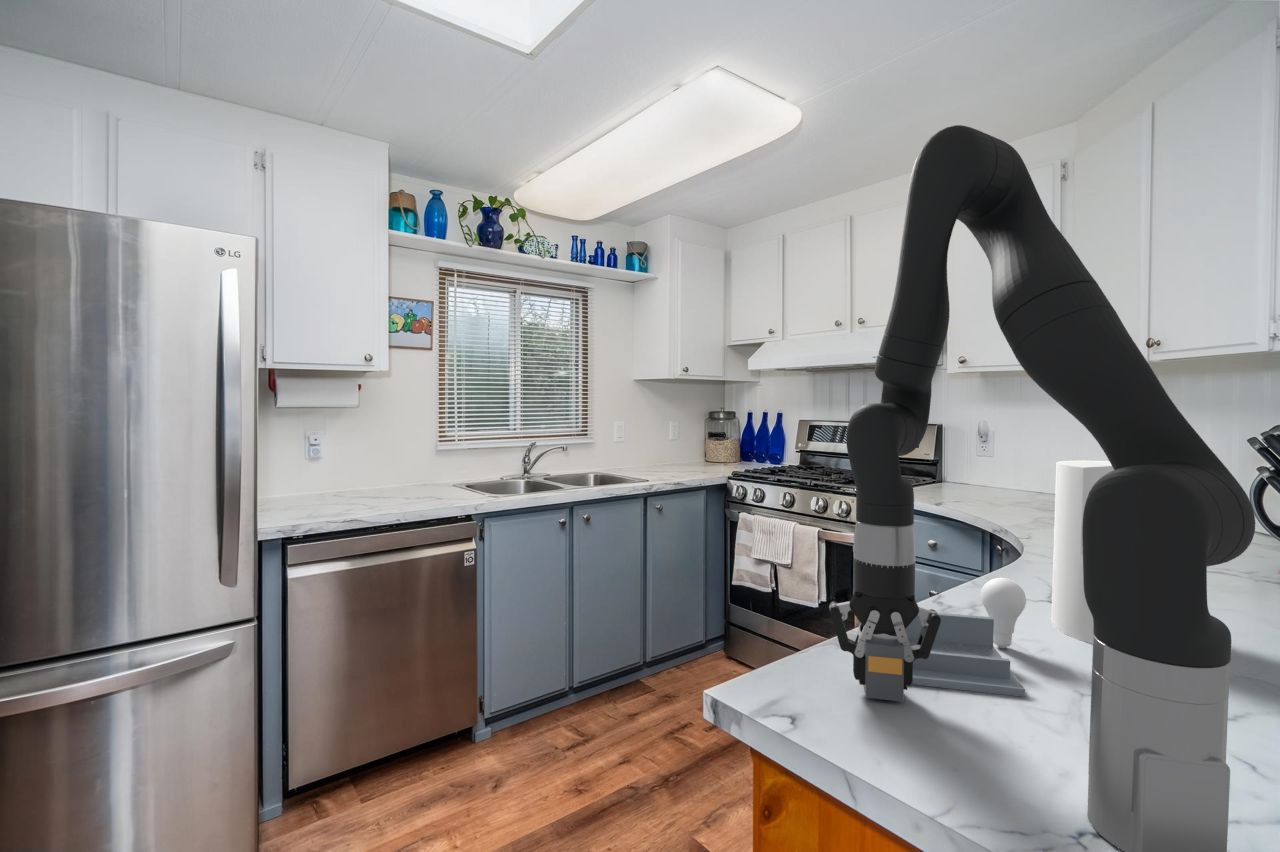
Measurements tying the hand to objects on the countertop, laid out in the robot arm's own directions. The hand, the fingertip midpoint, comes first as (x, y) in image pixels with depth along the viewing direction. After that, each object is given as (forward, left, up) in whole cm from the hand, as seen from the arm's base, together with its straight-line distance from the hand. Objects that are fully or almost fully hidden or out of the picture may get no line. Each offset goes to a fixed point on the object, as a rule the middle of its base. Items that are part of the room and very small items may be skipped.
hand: (882, 684), depth 81 cm
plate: (+11, -8, 0) cm, 14 cm away
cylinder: (+33, -40, -2) cm, 52 cm away
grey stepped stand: (+10, -8, -1) cm, 13 cm away
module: (0, 0, -1) cm, 1 cm away
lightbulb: (+21, -20, -2) cm, 29 cm away
